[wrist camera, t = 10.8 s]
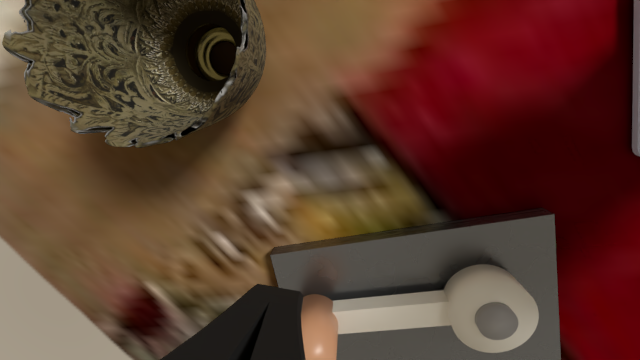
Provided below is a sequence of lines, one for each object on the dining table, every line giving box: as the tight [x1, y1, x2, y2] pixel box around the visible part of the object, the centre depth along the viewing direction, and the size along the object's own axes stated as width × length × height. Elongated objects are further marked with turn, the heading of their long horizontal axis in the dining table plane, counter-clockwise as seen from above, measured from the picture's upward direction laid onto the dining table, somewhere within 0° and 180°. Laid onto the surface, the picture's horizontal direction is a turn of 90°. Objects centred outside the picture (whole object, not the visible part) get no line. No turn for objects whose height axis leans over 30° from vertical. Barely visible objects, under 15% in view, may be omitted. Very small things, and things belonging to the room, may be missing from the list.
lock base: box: [270, 208, 561, 360], centre depth 18 cm, size 16×16×1 cm
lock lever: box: [301, 264, 539, 360], centre depth 15 cm, size 4×12×4 cm, turn 100°
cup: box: [2, 0, 266, 148], centre depth 12 cm, size 8×7×8 cm
